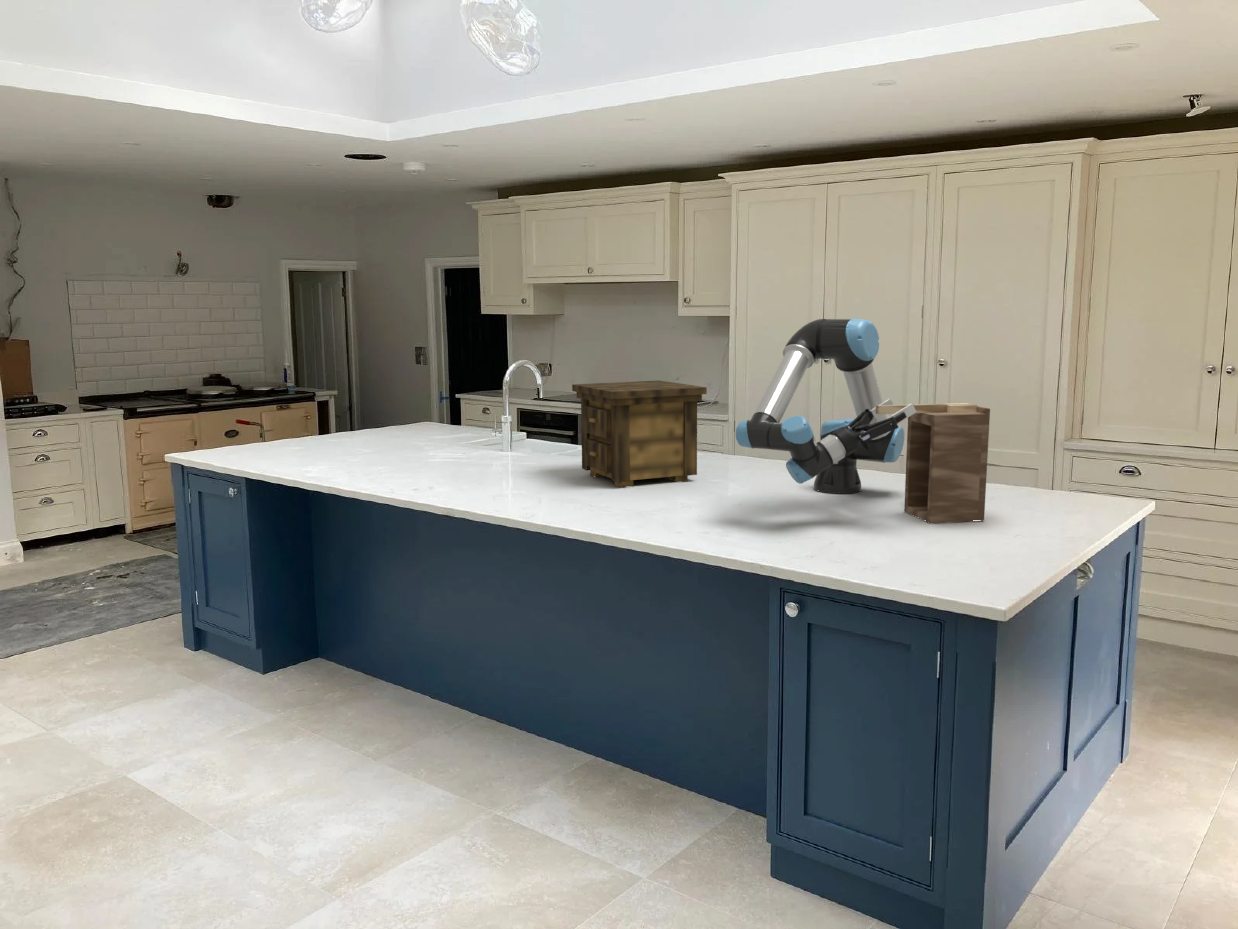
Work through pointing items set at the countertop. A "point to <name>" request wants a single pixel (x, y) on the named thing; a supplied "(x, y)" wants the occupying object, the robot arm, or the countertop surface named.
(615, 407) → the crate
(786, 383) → the robot arm
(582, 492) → the countertop surface
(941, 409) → the beige long flat part
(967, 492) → the walnut shelf
